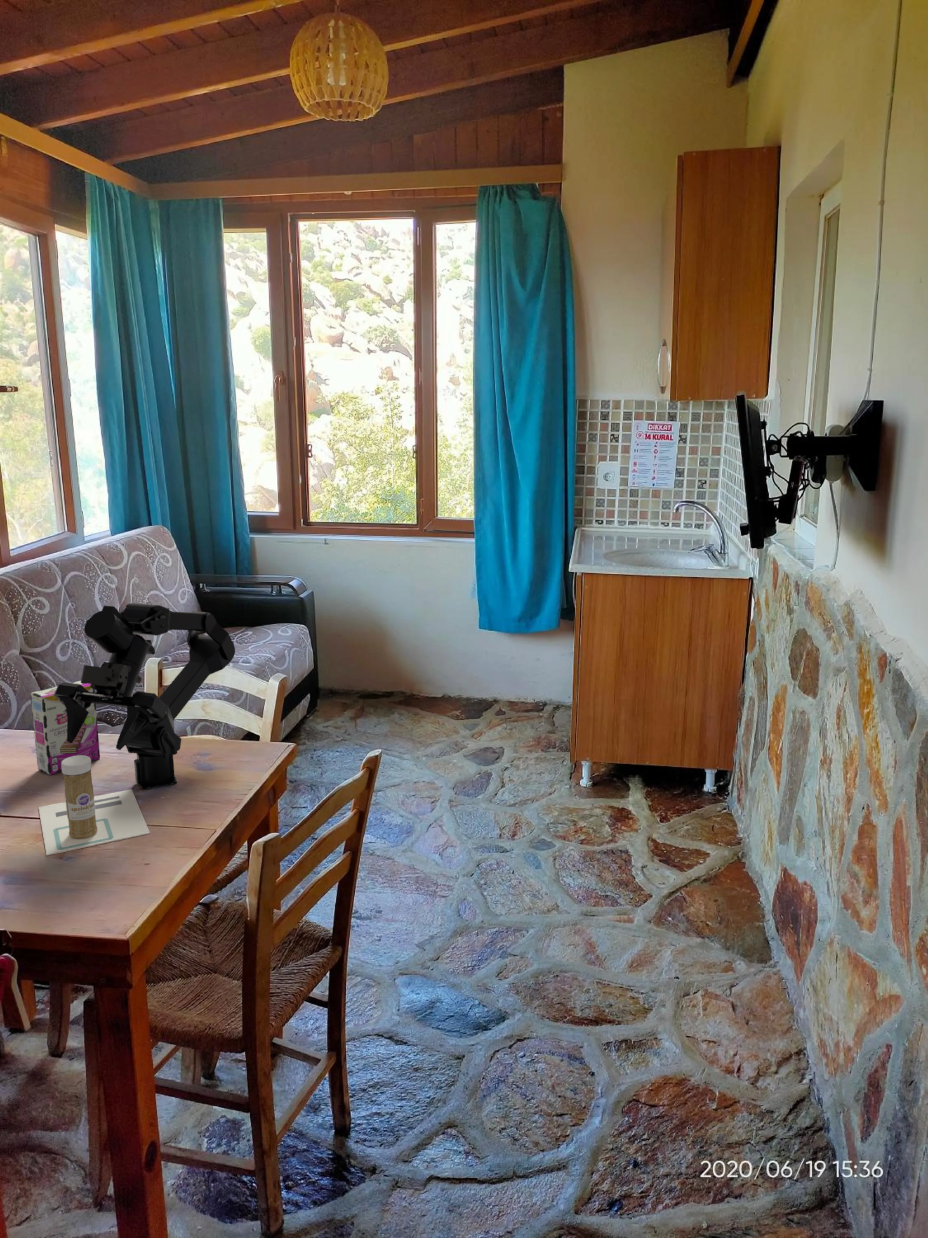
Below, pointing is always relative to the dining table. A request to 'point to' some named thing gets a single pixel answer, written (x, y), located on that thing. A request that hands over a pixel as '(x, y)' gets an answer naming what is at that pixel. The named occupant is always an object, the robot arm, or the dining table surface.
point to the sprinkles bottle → (79, 796)
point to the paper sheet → (113, 823)
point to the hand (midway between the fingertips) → (93, 745)
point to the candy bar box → (61, 731)
